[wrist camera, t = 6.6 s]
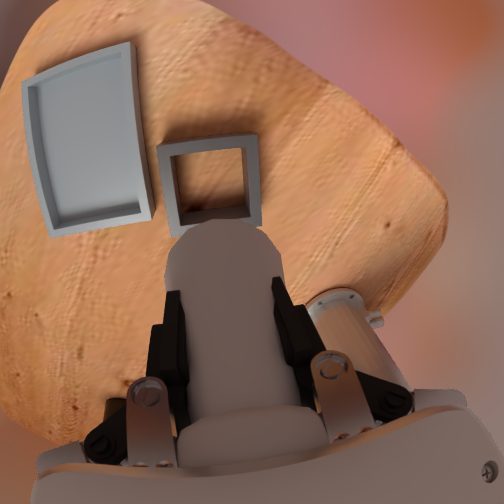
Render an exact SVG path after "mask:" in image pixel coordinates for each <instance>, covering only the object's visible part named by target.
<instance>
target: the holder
mask: <svg viewBox="0 0 504 504" xmlns="http://www.w3.org/2000/svg"><path fill="white" fill-rule="evenodd" d="M156 148H157V156H158V163H159V170H160V176H161V183H162V189H163V195H164V201H165V207H166V212H167V218H168V223H169V228H170V233H171V238H174V237H181V236H182V235H183V234H184V233H185V232H186V231H187V229H190V228H192V227H194V226H197V225H199V224H202V223H204V222H206V221H209V220H211V219H240V220H242V221H244V222H246V223H248V224H250V225H252V226H254V227H258V226H262V213H261V191H260V171H259V151H258V135H257V134H255V133H253V132H241V133H229V134H219V135H210V136H201V137H193V138H186V139H179V140H173V141H167V142H162V143H160V144H159V145H158V146H156ZM230 148H241V152H242V166H243V181H244V196H245V205H241V206H233V207H224V208H216V209H209V210H201V211H194V212H186V213H182V207H181V201H180V194H179V188H178V181H177V174H176V166H175V158H174V155H181V154H188V153H195V152H203V151H212V150H221V149H230Z"/></svg>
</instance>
